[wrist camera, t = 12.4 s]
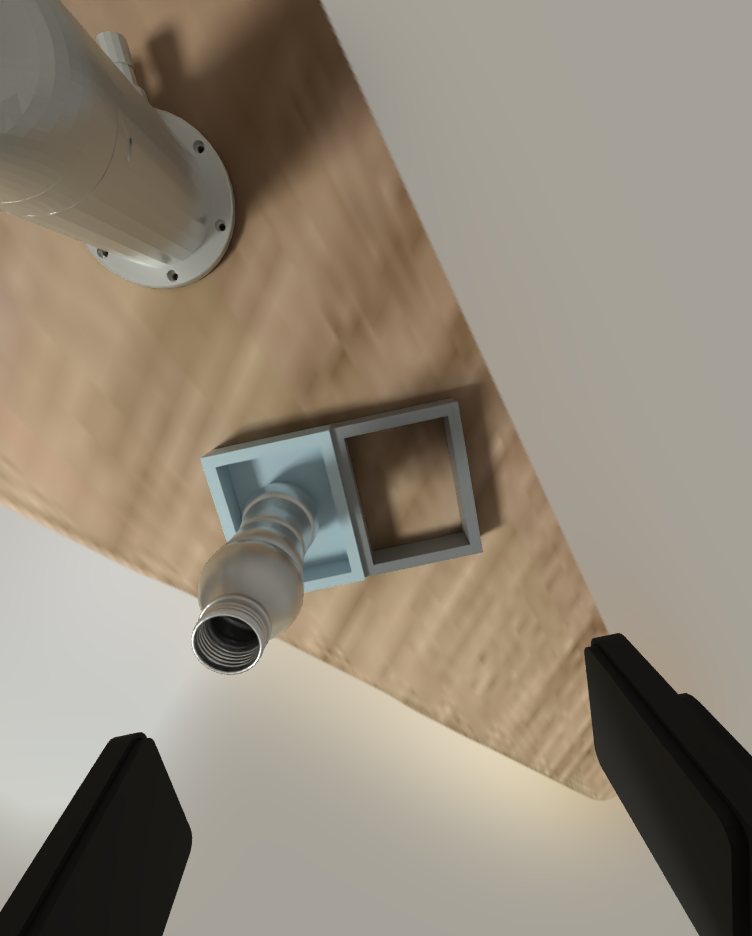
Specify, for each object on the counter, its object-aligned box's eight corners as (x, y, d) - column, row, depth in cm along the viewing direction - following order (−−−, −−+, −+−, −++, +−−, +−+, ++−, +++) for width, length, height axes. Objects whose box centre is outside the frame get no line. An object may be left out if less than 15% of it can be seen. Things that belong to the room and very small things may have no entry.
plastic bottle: (285, 461, 42) (222, 559, 22) (336, 514, 43) (318, 649, 24) (235, 506, 42) (132, 638, 23) (286, 556, 44) (229, 720, 25)
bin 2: (331, 423, 41) (329, 429, 39) (450, 397, 41) (457, 401, 38) (364, 562, 45) (364, 577, 42) (474, 538, 45) (482, 552, 42)
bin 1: (212, 449, 42) (200, 458, 38) (331, 423, 41) (328, 430, 38) (255, 585, 45) (246, 604, 42) (364, 562, 45) (365, 579, 42)
